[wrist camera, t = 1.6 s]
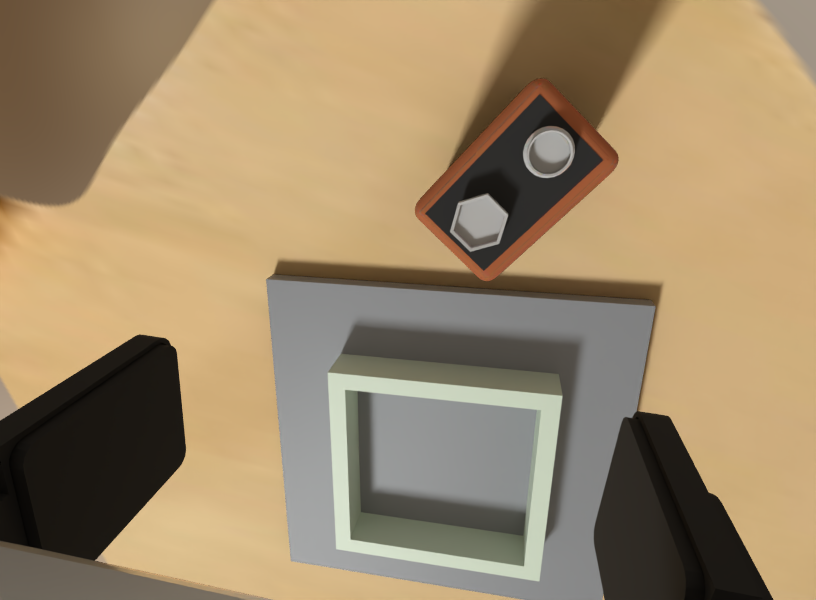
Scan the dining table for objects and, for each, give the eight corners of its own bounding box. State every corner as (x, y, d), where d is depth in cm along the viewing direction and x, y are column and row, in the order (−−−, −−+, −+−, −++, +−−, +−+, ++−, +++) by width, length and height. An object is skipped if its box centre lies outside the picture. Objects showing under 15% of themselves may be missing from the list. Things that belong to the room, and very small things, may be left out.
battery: (438, 182, 29) (402, 216, 20) (532, 82, 26) (541, 68, 17) (494, 237, 29) (485, 296, 20) (591, 145, 27) (632, 164, 18)
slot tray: (651, 300, 29) (668, 324, 26) (597, 599, 36) (605, 647, 33) (273, 274, 33) (246, 292, 29) (295, 550, 40) (277, 589, 37)
